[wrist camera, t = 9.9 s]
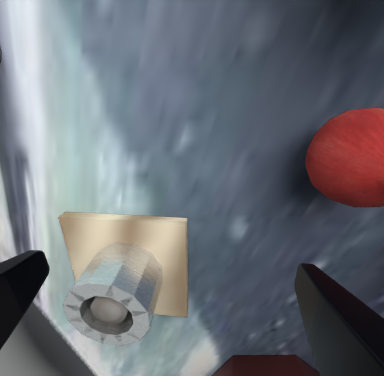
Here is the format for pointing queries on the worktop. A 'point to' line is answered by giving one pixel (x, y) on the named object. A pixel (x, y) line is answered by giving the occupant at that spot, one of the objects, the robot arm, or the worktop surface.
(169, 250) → the post board
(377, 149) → the onion
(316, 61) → the worktop surface
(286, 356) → the bucket
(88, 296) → the steel ring
